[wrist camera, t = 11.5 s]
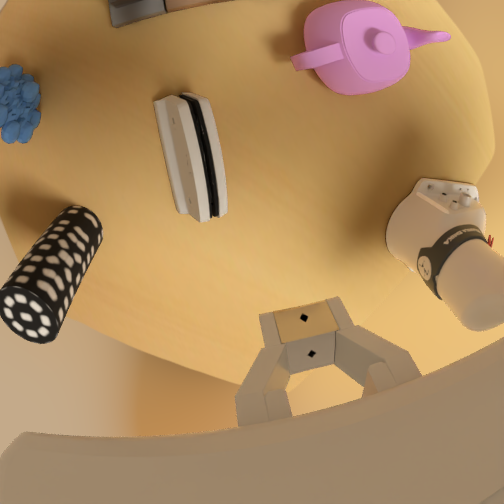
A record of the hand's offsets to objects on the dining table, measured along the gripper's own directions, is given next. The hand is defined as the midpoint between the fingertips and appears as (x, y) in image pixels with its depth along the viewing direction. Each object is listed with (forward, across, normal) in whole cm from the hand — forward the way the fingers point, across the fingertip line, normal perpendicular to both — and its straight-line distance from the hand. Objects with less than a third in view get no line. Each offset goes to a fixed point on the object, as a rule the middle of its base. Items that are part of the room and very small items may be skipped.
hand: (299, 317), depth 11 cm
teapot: (+34, +18, +11) cm, 40 cm away
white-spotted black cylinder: (+34, -26, -8) cm, 44 cm away
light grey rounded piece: (+34, -6, -1) cm, 35 cm away
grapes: (+34, -25, +14) cm, 45 cm away
